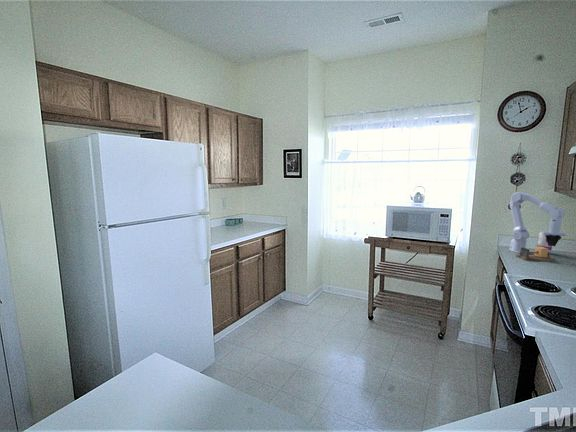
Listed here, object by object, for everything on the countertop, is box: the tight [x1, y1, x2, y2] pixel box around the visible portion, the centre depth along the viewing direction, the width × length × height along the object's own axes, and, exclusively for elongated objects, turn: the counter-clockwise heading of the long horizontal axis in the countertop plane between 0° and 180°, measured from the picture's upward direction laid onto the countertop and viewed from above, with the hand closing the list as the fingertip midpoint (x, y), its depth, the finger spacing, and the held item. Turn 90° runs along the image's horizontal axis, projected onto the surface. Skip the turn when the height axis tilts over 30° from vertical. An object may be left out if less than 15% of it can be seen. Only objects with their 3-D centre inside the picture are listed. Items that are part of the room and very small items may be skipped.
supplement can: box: [536, 231, 553, 253], centre depth 226 cm, size 8×8×15 cm
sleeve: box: [533, 246, 548, 257], centre depth 211 cm, size 6×4×6 cm
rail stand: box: [515, 247, 556, 262], centre depth 211 cm, size 10×19×7 cm, turn 88°
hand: (551, 245), depth 210 cm, fingers closed
